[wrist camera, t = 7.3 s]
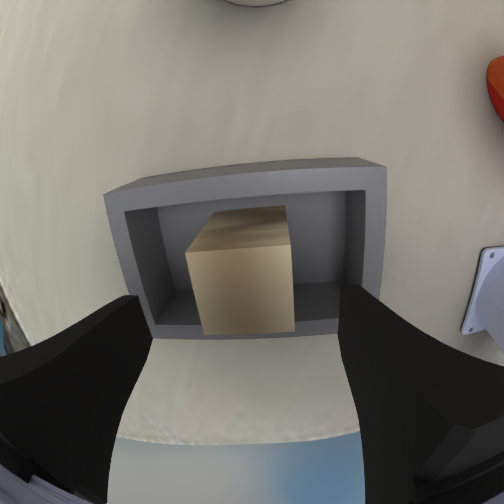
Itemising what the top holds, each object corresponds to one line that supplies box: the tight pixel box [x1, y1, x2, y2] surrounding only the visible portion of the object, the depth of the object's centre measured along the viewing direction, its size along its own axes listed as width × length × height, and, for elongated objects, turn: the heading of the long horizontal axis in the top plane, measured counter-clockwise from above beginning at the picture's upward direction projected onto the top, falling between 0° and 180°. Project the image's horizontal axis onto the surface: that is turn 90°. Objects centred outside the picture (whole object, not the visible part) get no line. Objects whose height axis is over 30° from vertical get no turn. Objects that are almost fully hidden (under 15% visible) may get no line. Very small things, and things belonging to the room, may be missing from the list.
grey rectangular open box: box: [103, 158, 387, 339], centre depth 15 cm, size 13×8×4 cm, turn 95°
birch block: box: [185, 205, 295, 335], centre depth 14 cm, size 4×4×6 cm
